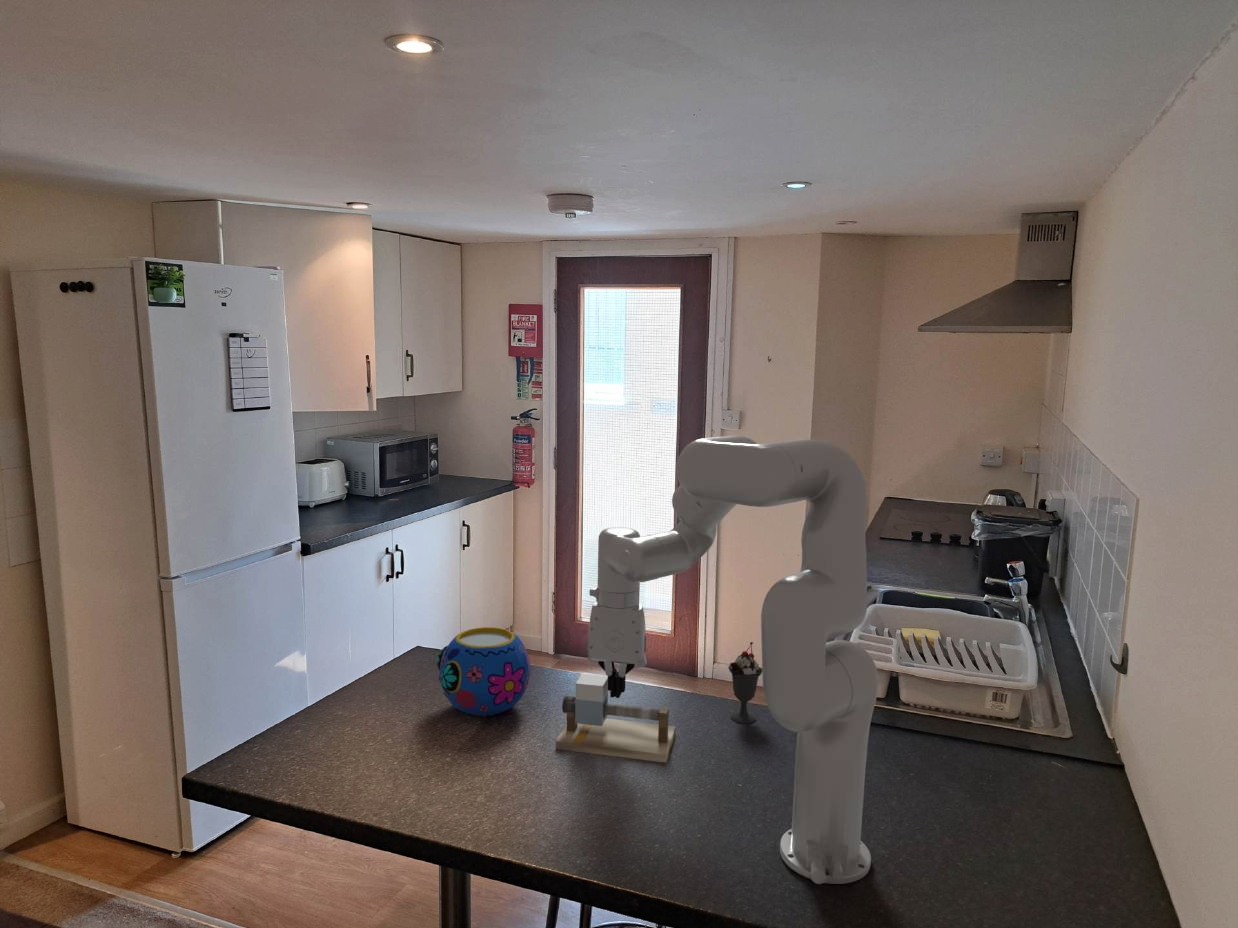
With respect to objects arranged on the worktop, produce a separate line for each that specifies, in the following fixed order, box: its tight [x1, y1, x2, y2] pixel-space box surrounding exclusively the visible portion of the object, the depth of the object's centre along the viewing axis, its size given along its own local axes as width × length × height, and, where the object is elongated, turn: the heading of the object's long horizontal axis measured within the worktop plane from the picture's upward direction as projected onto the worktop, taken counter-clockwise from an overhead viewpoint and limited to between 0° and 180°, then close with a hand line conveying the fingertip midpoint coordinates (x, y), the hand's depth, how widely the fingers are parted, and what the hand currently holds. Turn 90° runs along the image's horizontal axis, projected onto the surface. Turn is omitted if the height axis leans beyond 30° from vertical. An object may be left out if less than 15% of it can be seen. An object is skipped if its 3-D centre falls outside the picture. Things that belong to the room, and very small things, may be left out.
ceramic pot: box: [436, 626, 532, 716], centre depth 161 cm, size 18×18×15 cm
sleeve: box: [575, 673, 609, 726], centre depth 150 cm, size 5×5×8 cm
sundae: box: [727, 641, 762, 725], centre depth 159 cm, size 7×7×15 cm
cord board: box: [555, 695, 676, 764], centre depth 149 cm, size 11×20×8 cm, turn 78°
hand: (616, 694), depth 149 cm, fingers closed
